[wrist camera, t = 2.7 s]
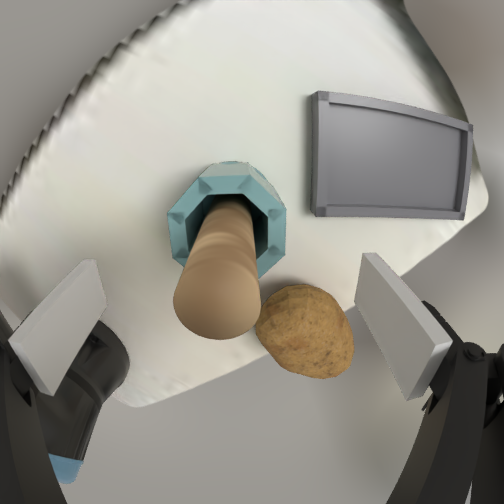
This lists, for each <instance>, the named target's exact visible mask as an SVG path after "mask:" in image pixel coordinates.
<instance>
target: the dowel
mask: <svg viewBox="0 0 504 504" xmlns="http://www.w3.org/2000/svg"><path fill="white" fill-rule="evenodd" d="M173 304H174V309H175V313H176V315H177V317H178V318H179V320H180V321H181V323H182V324H183V325H184V326H185V327H186V328H187V329H189V330H190V331H192V332H193V333H195V334H197V335H199V336H202V337H205V338H209V339H215V340H224V339H231V338H235V337H237V336H240V335H242V334H244V333H245V332H247V331H248V330H249V329H251V328H252V327H253V325H254V324H255V323H256V321H257V320H258V317H259V315H260V311H261V300H260V291H259V281H258V272H257V262H256V253H255V243H254V234H253V224H252V215H251V206H250V199H248V198H247V197H246V196H245V195H244V194H243V193H237V194H216V195H215V197H214V199H213V201H212V204H211V206H210V208H209V210H208V213H207V215H206V217H205V219H204V222H203V224H202V226H201V229H200V231H199V233H198V236H197V238H196V240H195V243H194V245H193V248H192V250H191V252H190V255H189V257H188V260H187V262H186V265H185V267H184V270H183V272H182V275H181V277H180V280H179V282H178V285H177V287H176V290H175V293H174V297H173Z"/></svg>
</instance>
